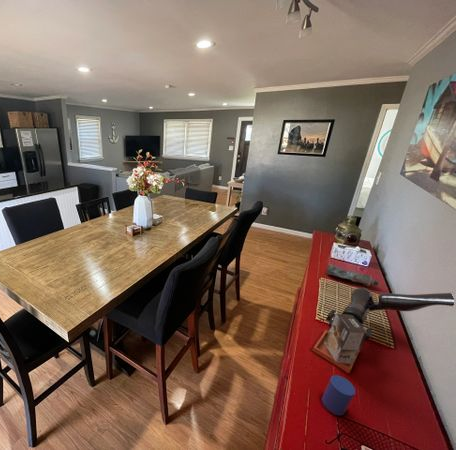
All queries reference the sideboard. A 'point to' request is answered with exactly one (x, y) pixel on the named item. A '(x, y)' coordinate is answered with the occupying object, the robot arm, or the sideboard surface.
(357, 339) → the coffee box
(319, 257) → the sideboard surface
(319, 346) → the tray
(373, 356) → the sideboard surface
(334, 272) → the dark stone rod
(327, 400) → the blue tin
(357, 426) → the sideboard surface
